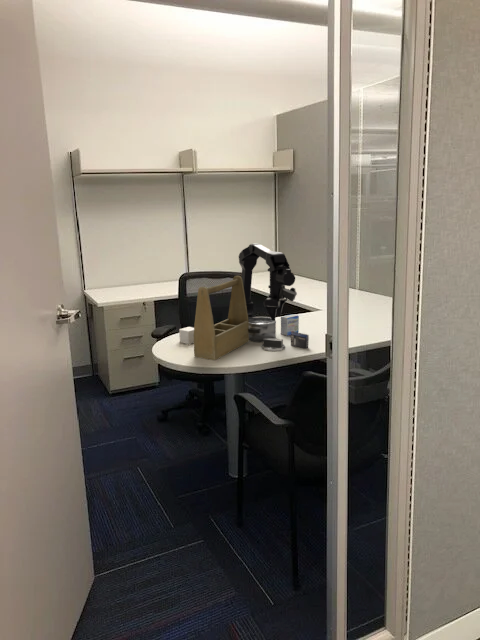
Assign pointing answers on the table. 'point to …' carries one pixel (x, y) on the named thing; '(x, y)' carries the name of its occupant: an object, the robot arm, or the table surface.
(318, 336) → the table surface
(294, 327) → the medicine box
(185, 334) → the white cube
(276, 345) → the lid
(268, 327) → the pot
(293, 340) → the mini dv tape
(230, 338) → the caddy
